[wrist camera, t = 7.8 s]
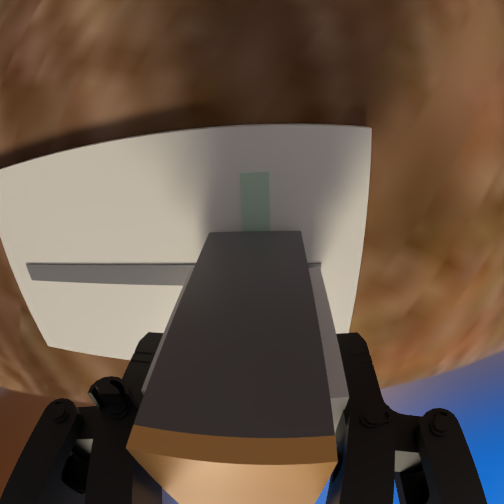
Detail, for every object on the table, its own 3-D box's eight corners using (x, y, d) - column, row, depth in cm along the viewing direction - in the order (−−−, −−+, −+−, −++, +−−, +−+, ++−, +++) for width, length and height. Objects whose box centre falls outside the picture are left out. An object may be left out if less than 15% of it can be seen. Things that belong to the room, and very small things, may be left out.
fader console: (-7, 171, 14) (-17, 175, 13) (365, 126, 12) (372, 128, 11) (53, 338, 20) (47, 346, 19) (339, 355, 19) (341, 367, 18)
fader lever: (209, 232, 13) (125, 447, 5) (300, 230, 13) (338, 461, 4) (220, 319, 16) (182, 507, 7) (297, 319, 15) (308, 513, 7)
